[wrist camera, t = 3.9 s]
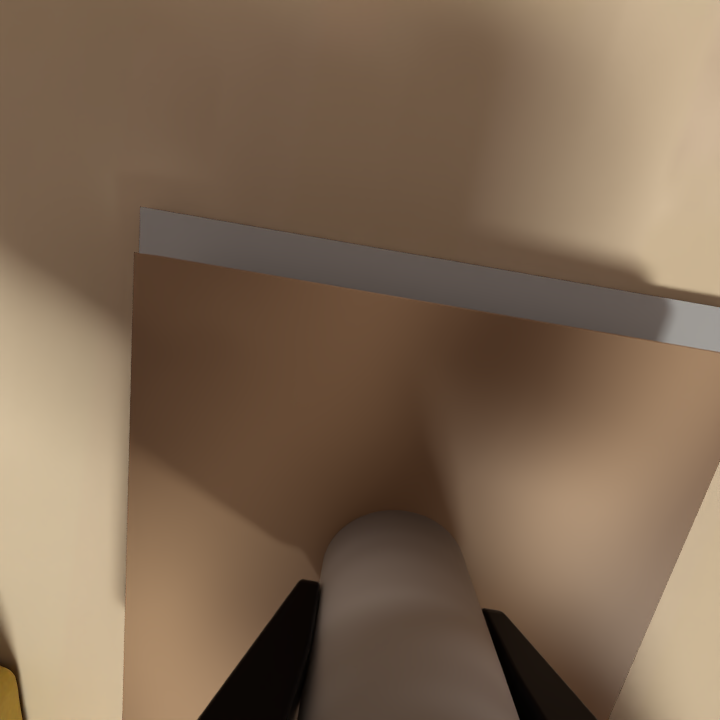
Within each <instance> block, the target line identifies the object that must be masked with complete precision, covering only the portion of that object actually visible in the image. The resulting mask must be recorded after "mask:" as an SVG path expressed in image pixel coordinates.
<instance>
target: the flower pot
mask: <svg viewBox="0 0 720 720" xmlns="http://www.w3.org/2000/svg"><path fill="white" fill-rule="evenodd" d="M0 720H22V715H21V708H20V702H19V695H18V688H17V683H16V678H15V676H14V674H13V673H12V672H11V671H10V670H9V669H7V668H5V667H2V666H0Z"/></svg>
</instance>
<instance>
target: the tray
mask: <svg viewBox="0 0 720 720" xmlns="http://www.w3.org/2000/svg"><path fill="white" fill-rule="evenodd" d="M139 253H142V254H150V255H158V256H164V257H170V258H176V259H182V260H188V261H193V262H199V263H205V264H211V265H217V266H223V267H228V268H234V269H240V270H246V271H252V272H257V273H263V274H269V275H275V276H281V277H287V278H292V279H298V280H304V281H310V282H316V283H321V284H327V285H333V286H339V287H345V288H350V289H356V290H362V291H368V292H374V293H380V294H385V295H391V296H397V297H403V298H409V299H414V300H420V301H426V302H432V303H438V304H443V305H449V306H455V307H461V308H467V309H473V310H478V311H484V312H490V313H496V314H502V315H507V316H513V317H519V318H525V319H531V320H536V321H542V322H548V323H554V324H560V325H566V326H571V327H577V328H583V329H589V330H595V331H600V332H606V333H612V334H618V335H624V336H629V337H635V338H641V339H647V340H653V341H659V342H664V343H670V344H676V345H682V346H688V347H693V348H699V349H705V350H711V351H717V352H720V307H714V306H709V305H703V304H697V303H691V302H686V301H680V300H674V299H668V298H663V297H657V296H651V295H645V294H640V293H634V292H628V291H622V290H617V289H611V288H605V287H599V286H594V285H588V284H582V283H576V282H571V281H565V280H559V279H553V278H548V277H542V276H536V275H530V274H525V273H519V272H513V271H507V270H502V269H496V268H490V267H484V266H479V265H473V264H467V263H461V262H456V261H450V260H444V259H438V258H433V257H427V256H421V255H415V254H410V253H404V252H398V251H392V250H387V249H381V248H375V247H369V246H364V245H358V244H352V243H346V242H341V241H335V240H329V239H323V238H318V237H312V236H306V235H300V234H295V233H289V232H283V231H277V230H272V229H266V228H260V227H254V226H249V225H243V224H237V223H231V222H226V221H220V220H214V219H208V218H203V217H197V216H191V215H185V214H180V213H174V212H168V211H162V210H157V209H151V208H145V207H140V236H139Z"/></svg>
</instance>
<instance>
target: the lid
mask: <svg viewBox="0 0 720 720" xmlns="http://www.w3.org/2000/svg"><path fill="white" fill-rule="evenodd" d="M719 462H720V352H717V351H711V350H705V349H699V348H693V347H688V346H682V345H676V344H670V343H664V342H659V341H653V340H647V339H641V338H635V337H629V336H624V335H618V334H612V333H606V332H600V331H595V330H589V329H583V328H577V327H571V326H566V325H560V324H554V323H548V322H542V321H536V320H531V319H525V318H519V317H513V316H507V315H502V314H496V313H490V312H484V311H478V310H473V309H467V308H461V307H455V306H449V305H443V304H438V303H432V302H426V301H420V300H414V299H409V298H403V297H397V296H391V295H385V294H380V293H374V292H368V291H362V290H356V289H350V288H345V287H339V286H333V285H327V284H321V283H316V282H310V281H304V280H298V279H292V278H287V277H281V276H275V275H269V274H263V273H257V272H252V271H246V270H240V269H234V268H228V267H223V266H217V265H211V264H205V263H199V262H193V261H188V260H182V259H176V258H170V257H164V256H158V255H150V254H142V253H135V252H134V279H133V319H132V358H131V398H130V437H129V477H128V516H127V555H126V595H125V634H124V674H123V713H122V720H197V719H198V718H199V716H200V715H201V713H202V712H203V711H204V709H205V708H206V707H207V705H208V704H209V703H210V701H211V700H212V698H213V697H214V696H215V694H216V693H217V692H218V690H219V689H220V688H221V686H222V685H223V683H224V682H225V681H226V679H227V678H228V677H229V675H230V674H231V673H232V671H233V670H234V668H235V667H236V666H237V664H238V663H239V662H240V660H241V659H242V658H243V656H244V655H245V653H246V652H247V651H248V649H249V648H250V647H251V645H252V644H253V643H254V641H255V640H256V638H257V637H258V636H259V634H260V633H261V632H262V630H263V629H264V628H265V626H266V625H267V623H268V622H269V621H270V619H271V618H272V617H273V615H274V614H275V612H276V611H277V610H278V608H279V607H280V606H281V604H282V603H283V602H284V600H285V599H286V597H287V596H288V595H289V593H290V592H291V591H292V589H293V588H294V587H295V585H296V584H297V583H298V581H300V580H301V579H305V580H311V581H317V582H319V583H320V590H319V596H318V603H317V609H316V616H315V622H314V628H313V635H312V641H311V647H310V653H309V658H308V663H307V669H306V674H305V678H304V683H303V688H302V693H301V699H300V705H299V712H298V718H297V720H520V719H519V716H518V713H517V711H516V708H515V705H514V702H513V699H512V696H511V693H510V690H509V687H508V685H507V682H506V679H505V676H504V673H503V670H502V667H501V664H500V661H499V659H498V656H497V653H496V650H495V647H494V644H493V641H492V638H491V635H490V633H489V630H488V627H487V624H486V621H485V618H484V615H483V612H482V608H488V609H494V610H500V611H502V612H503V613H504V614H506V615H507V617H508V618H509V619H510V620H511V621H512V622H513V623H514V625H515V626H516V627H517V628H518V629H519V630H520V631H521V633H522V634H523V635H524V636H525V637H526V638H527V639H528V641H529V642H530V643H531V644H532V645H533V646H534V647H535V649H536V650H537V651H538V652H539V653H540V654H541V655H542V657H543V658H544V659H545V660H546V661H547V662H548V663H549V664H550V666H551V667H552V668H553V669H554V670H555V671H556V672H557V674H558V675H559V676H560V677H561V678H562V679H563V680H564V682H565V683H566V684H567V685H568V686H569V687H570V688H571V690H572V691H573V692H574V693H575V694H576V695H577V696H578V698H579V699H580V700H581V701H582V702H583V703H584V704H585V706H586V707H587V708H588V709H589V710H590V711H591V712H592V714H593V715H594V716H595V717H596V718H597V719H598V720H608V719H609V717H610V714H611V712H612V710H613V707H614V705H615V703H616V700H617V698H618V696H619V693H620V691H621V689H622V686H623V684H624V682H625V680H626V677H627V675H628V673H629V670H630V668H631V666H632V663H633V661H634V659H635V656H636V654H637V652H638V649H639V647H640V645H641V642H642V640H643V638H644V636H645V633H646V631H647V629H648V626H649V624H650V622H651V619H652V617H653V615H654V612H655V610H656V608H657V605H658V603H659V601H660V599H661V596H662V594H663V592H664V589H665V587H666V585H667V582H668V580H669V578H670V575H671V573H672V571H673V568H674V566H675V564H676V561H677V559H678V557H679V555H680V552H681V550H682V548H683V545H684V543H685V541H686V538H687V536H688V534H689V531H690V529H691V527H692V524H693V522H694V520H695V517H696V515H697V513H698V511H699V508H700V506H701V504H702V501H703V499H704V497H705V494H706V492H707V490H708V487H709V485H710V483H711V480H712V478H713V476H714V474H715V471H716V469H717V467H718V464H719Z"/></svg>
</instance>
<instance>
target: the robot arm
mask: <svg viewBox="0 0 720 720" xmlns="http://www.w3.org/2000/svg"><path fill="white" fill-rule="evenodd" d="M319 590H320V583H319V582H317V581H311V580H305V579H301V580H300V581H298V583H297V584H296V585H295V587H294V588H293V589H292V591H291V592H290V593H289V595H288V596H287V597H286V599H285V600H284V602H283V603H282V604H281V606H280V607H279V608H278V610H277V611H276V612H275V614H274V615H273V617H272V618H271V619H270V621H269V622H268V623H267V625H266V626H265V628H264V629H263V630H262V632H261V633H260V634H259V636H258V637H257V638H256V640H255V641H254V643H253V644H252V645H251V647H250V648H249V649H248V651H247V652H246V653H245V655H244V656H243V658H242V659H241V660H240V662H239V663H238V664H237V666H236V667H235V668H234V670H233V671H232V673H231V674H230V675H229V677H228V678H227V679H226V681H225V682H224V683H223V685H222V686H221V688H220V689H219V690H218V692H217V693H216V694H215V696H214V697H213V698H212V700H211V701H210V703H209V704H208V705H207V707H206V708H205V709H204V711H203V712H202V713H201V715H200V716H199V718H198V719H197V720H297V718H298V712H299V705H300V699H301V693H302V688H303V683H304V678H305V674H306V669H307V663H308V658H309V653H310V647H311V641H312V635H313V628H314V622H315V616H316V609H317V603H318V596H319ZM482 612H483V615H484V618H485V621H486V624H487V627H488V630H489V633H490V635H491V638H492V641H493V644H494V647H495V650H496V653H497V656H498V659H499V661H500V664H501V667H502V670H503V673H504V676H505V679H506V682H507V685H508V687H509V690H510V693H511V696H512V699H513V702H514V705H515V708H516V711H517V713H518V716H519V719H520V720H598V719H597V718H596V717H595V716H594V715H593V714H592V712H591V711H590V710H589V709H588V708H587V707H586V706H585V704H584V703H583V702H582V701H581V700H580V699H579V698H578V696H577V695H576V694H575V693H574V692H573V691H572V690H571V688H570V687H569V686H568V685H567V684H566V683H565V682H564V680H563V679H562V678H561V677H560V676H559V675H558V674H557V672H556V671H555V670H554V669H553V668H552V667H551V666H550V664H549V663H548V662H547V661H546V660H545V659H544V658H543V657H542V655H541V654H540V653H539V652H538V651H537V650H536V649H535V647H534V646H533V645H532V644H531V643H530V642H529V641H528V639H527V638H526V637H525V636H524V635H523V634H522V633H521V631H520V630H519V629H518V628H517V627H516V626H515V625H514V623H513V622H512V621H511V620H510V619H509V618H508V617H507V615H506V614H504V613H503V612H502V611H500V610H494V609H488V608H482Z"/></svg>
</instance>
